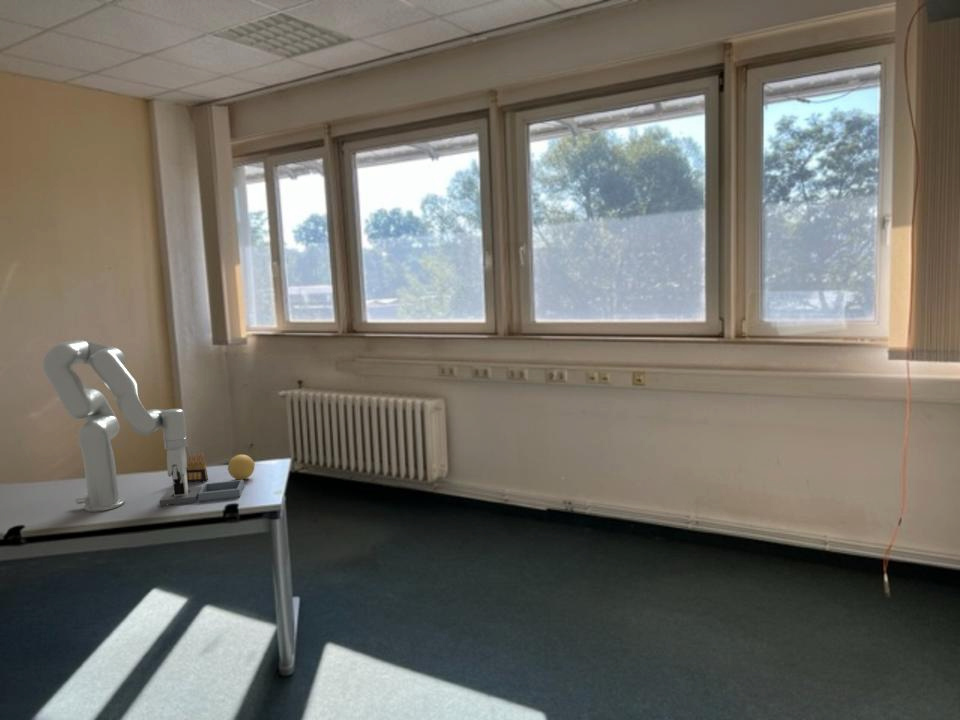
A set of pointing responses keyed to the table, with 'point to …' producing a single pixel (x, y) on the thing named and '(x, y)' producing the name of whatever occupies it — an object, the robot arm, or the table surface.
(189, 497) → the frame
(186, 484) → the fuse
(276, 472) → the table surface
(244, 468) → the stress ball
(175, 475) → the robot arm
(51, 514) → the table surface
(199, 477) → the ammunition clip
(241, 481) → the parts tray
